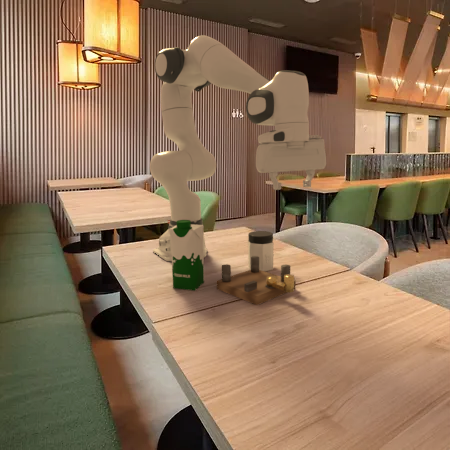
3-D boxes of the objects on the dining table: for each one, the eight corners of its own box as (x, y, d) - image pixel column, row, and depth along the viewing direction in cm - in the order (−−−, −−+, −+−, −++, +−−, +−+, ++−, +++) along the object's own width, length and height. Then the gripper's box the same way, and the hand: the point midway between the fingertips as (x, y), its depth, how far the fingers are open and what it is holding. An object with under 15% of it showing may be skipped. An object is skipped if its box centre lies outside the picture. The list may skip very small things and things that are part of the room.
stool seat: (216, 288, 112) (216, 265, 110) (254, 275, 122) (254, 254, 121) (256, 305, 100) (257, 279, 99) (295, 289, 111) (295, 266, 109)
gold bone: (264, 284, 106) (264, 270, 106) (271, 282, 108) (271, 268, 107) (289, 293, 100) (289, 278, 99) (296, 290, 102) (296, 275, 101)
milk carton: (168, 289, 112) (165, 221, 108) (182, 278, 121) (179, 216, 116) (196, 292, 109) (194, 223, 105) (208, 281, 118) (206, 217, 114)
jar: (257, 274, 124) (257, 237, 122) (242, 267, 131) (242, 233, 128) (278, 268, 129) (279, 233, 126) (263, 262, 135) (263, 229, 133)
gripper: (316, 135, 108) (316, 185, 110) (252, 136, 100) (253, 190, 102) (331, 133, 102) (331, 186, 104) (264, 135, 94) (265, 191, 96)
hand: (292, 188), depth 103 cm, fingers open, 8 cm apart
